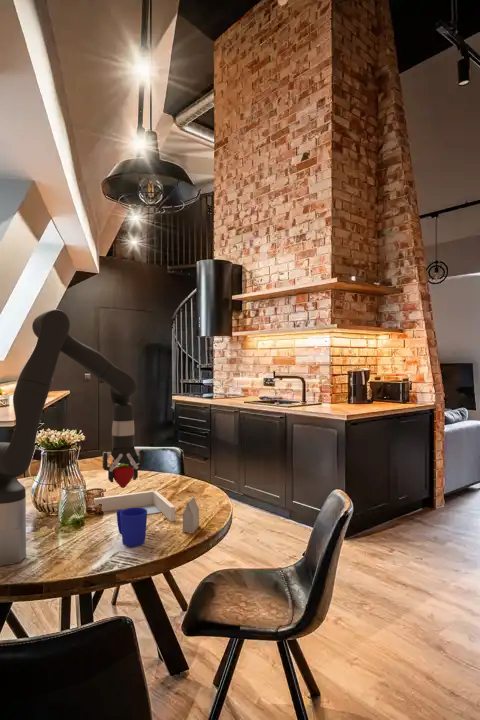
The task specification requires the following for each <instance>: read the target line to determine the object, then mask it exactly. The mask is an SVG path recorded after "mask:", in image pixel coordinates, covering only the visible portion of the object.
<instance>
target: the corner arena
mask: <svg viewBox="0 0 480 720" xmlns="http://www.w3.org/2000/svg"><path fill="white" fill-rule="evenodd" d="M101 497H102V498H101ZM101 497H96V498H95V497H94V498H93V504H94V503H95V505H99V504H102V511H103V512H110V511H117V510H120V509H121V510H125V509H129V508H144V509H146V510H147V516H149V515H155V514H160V513H161V512H162V513H163V514H162V513H161V514H162V515H163V516H164V515H165V516H164V517H166V519H167V520H169V522H171V523H172V522H176V506H175V505H174V504H172V503H171V501H169V500H168V499H167V498H166V497H164V496H163V495H162V494H161V493H159V492H158V490H157V489H151V490H146V491H139V492H138V491H137V492H131V493H125V494H116V495H111V496H110V495H109V496H108V495H107V496H101ZM103 512H102V513H103Z"/></svg>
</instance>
